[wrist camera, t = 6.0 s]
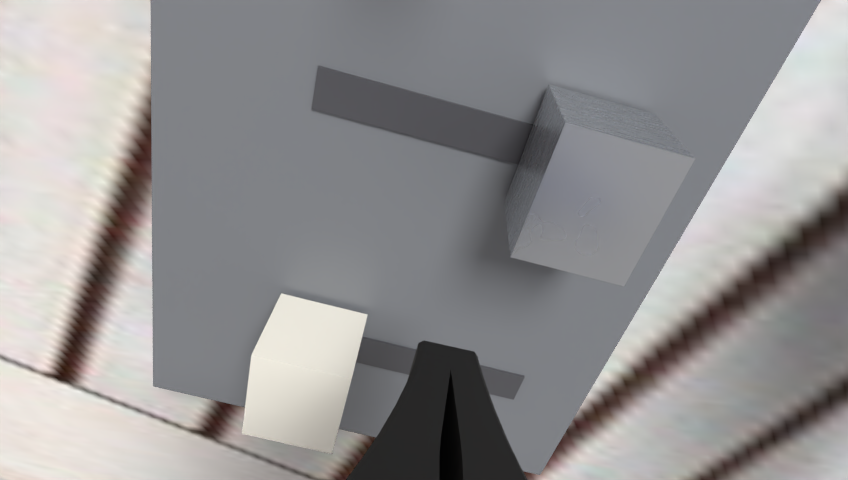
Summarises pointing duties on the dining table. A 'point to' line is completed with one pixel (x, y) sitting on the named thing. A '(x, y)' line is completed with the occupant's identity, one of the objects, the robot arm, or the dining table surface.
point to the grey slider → (592, 185)
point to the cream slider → (302, 373)
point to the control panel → (417, 179)
